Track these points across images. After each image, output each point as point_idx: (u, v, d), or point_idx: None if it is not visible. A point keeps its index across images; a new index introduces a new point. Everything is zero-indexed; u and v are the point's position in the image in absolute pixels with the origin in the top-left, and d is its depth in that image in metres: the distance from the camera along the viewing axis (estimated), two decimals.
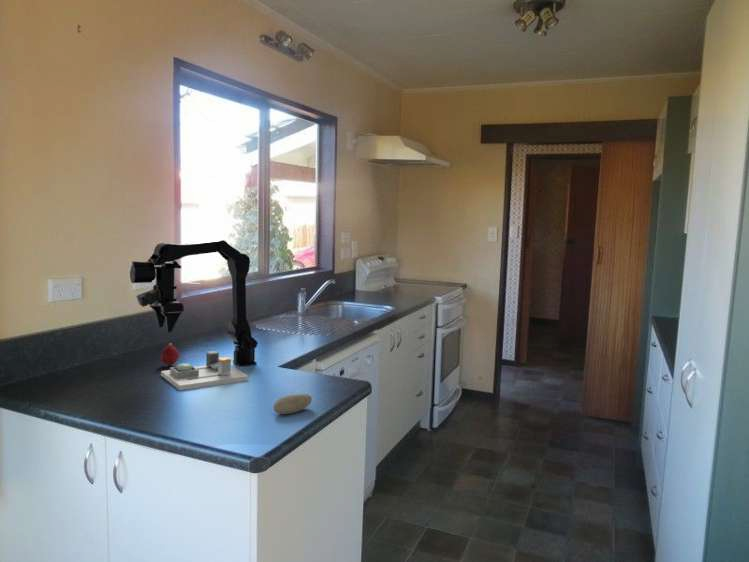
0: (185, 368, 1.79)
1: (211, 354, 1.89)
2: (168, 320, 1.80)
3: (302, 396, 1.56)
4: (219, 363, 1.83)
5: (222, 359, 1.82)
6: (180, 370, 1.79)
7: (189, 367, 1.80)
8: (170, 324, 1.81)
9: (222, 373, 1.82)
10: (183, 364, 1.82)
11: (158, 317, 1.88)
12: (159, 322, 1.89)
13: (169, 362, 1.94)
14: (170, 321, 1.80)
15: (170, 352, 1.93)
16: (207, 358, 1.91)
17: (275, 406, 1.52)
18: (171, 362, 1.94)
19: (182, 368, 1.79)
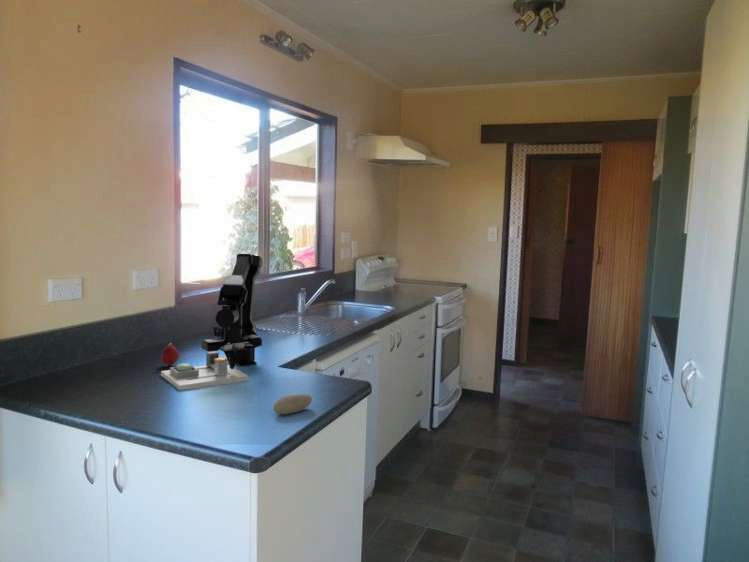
0: (185, 368, 1.79)
1: (211, 354, 1.89)
2: (226, 356, 1.84)
3: (302, 396, 1.56)
4: (216, 363, 1.82)
5: (219, 359, 1.82)
6: (180, 370, 1.79)
7: (189, 367, 1.80)
8: (228, 361, 1.84)
9: (219, 373, 1.81)
10: (183, 364, 1.82)
11: None
12: None
13: (169, 362, 1.94)
14: (228, 358, 1.84)
15: (170, 352, 1.93)
16: (207, 358, 1.91)
17: (275, 406, 1.52)
18: (171, 362, 1.94)
19: (182, 368, 1.79)
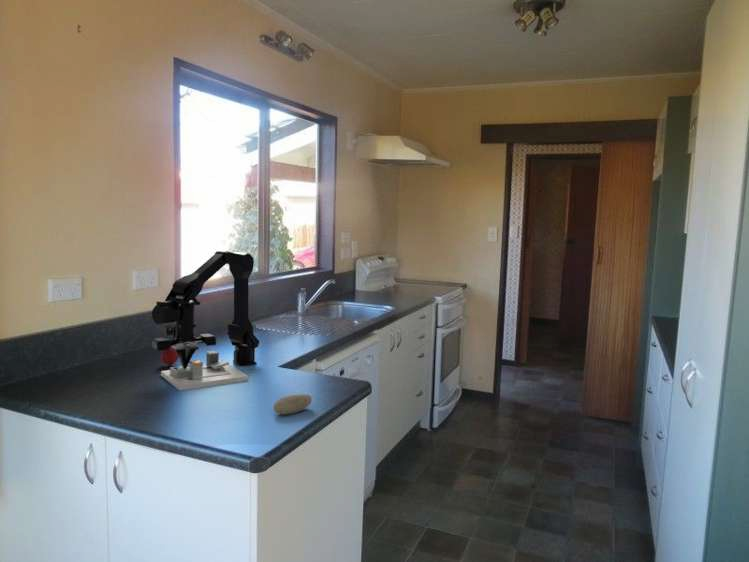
0: None
1: (211, 354, 1.89)
2: (179, 355, 1.80)
3: (302, 396, 1.56)
4: (191, 367, 1.77)
5: (194, 362, 1.77)
6: None
7: None
8: (180, 360, 1.80)
9: (194, 377, 1.76)
10: None
11: None
12: None
13: (169, 362, 1.94)
14: (180, 357, 1.80)
15: (170, 352, 1.93)
16: (207, 358, 1.91)
17: (275, 406, 1.52)
18: (171, 362, 1.94)
19: None
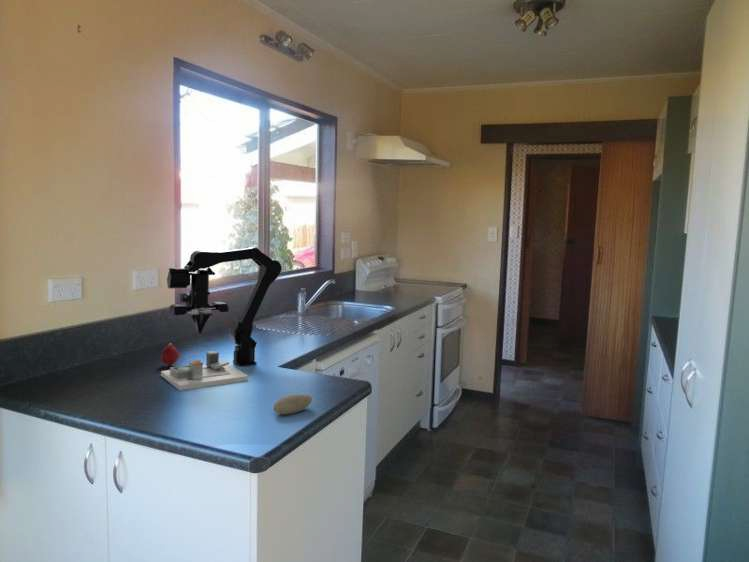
0: None
1: (211, 354, 1.89)
2: (194, 321, 1.94)
3: (302, 396, 1.56)
4: (191, 367, 1.77)
5: (194, 362, 1.77)
6: None
7: None
8: (195, 325, 1.94)
9: (194, 377, 1.76)
10: (183, 367, 1.82)
11: None
12: None
13: (169, 362, 1.94)
14: (195, 322, 1.94)
15: (170, 352, 1.93)
16: (207, 358, 1.91)
17: (275, 406, 1.52)
18: (171, 362, 1.94)
19: None
